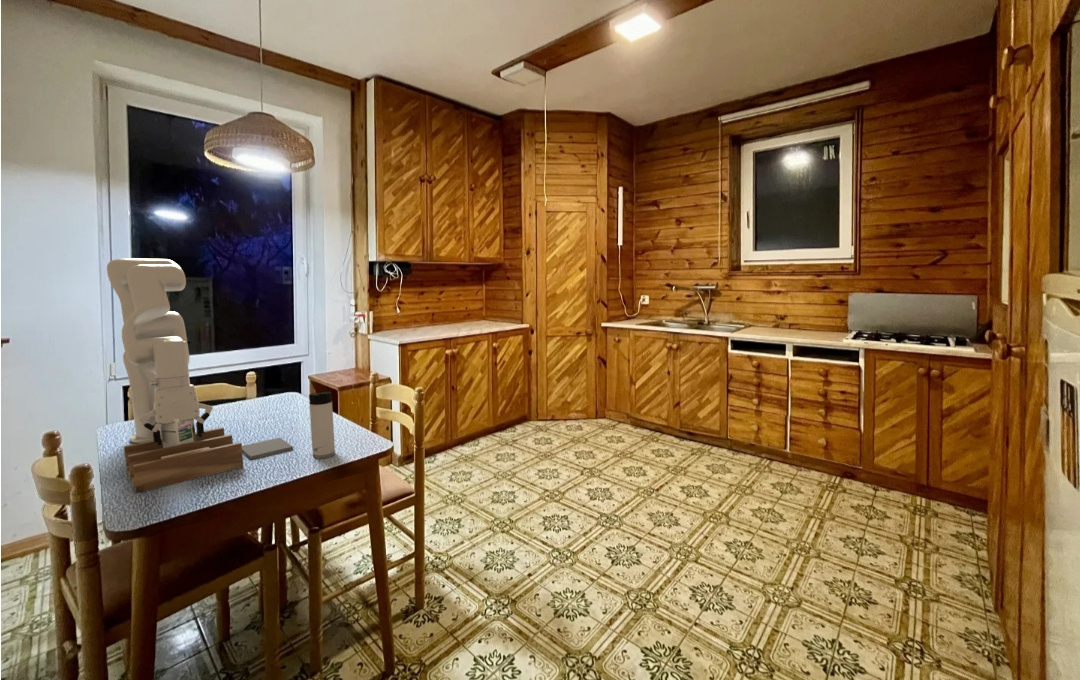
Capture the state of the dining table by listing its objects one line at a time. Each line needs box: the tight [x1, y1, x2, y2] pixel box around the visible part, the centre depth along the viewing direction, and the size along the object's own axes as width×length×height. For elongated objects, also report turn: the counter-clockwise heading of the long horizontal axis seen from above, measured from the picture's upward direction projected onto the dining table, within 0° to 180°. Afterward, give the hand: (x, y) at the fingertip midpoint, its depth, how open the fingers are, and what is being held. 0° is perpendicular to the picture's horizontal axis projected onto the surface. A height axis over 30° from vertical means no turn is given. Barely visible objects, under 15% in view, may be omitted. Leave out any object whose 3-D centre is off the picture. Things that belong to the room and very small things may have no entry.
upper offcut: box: [161, 447, 210, 459], centre depth 135 cm, size 6×11×3 cm, turn 137°
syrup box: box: [161, 419, 196, 448], centre depth 142 cm, size 6×6×14 cm
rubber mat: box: [242, 437, 294, 460], centre depth 154 cm, size 12×12×1 cm
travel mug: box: [308, 391, 336, 460], centre depth 148 cm, size 6×7×20 cm
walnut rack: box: [123, 426, 244, 493], centre depth 139 cm, size 21×24×7 cm
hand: (179, 440), depth 142 cm, fingers open, 9 cm apart
